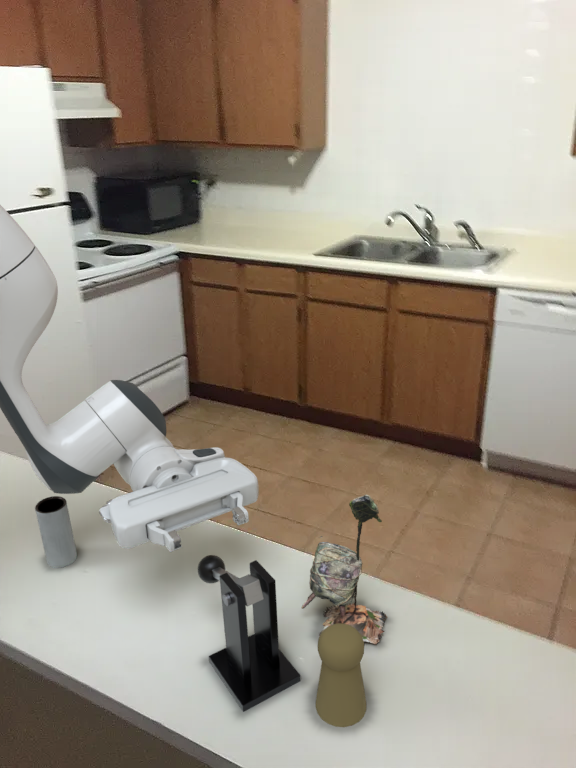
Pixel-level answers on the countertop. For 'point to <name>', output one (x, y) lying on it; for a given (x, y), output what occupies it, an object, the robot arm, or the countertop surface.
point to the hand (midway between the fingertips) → (210, 532)
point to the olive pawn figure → (341, 676)
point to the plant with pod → (345, 579)
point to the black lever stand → (252, 644)
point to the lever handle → (248, 584)
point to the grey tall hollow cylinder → (56, 531)
